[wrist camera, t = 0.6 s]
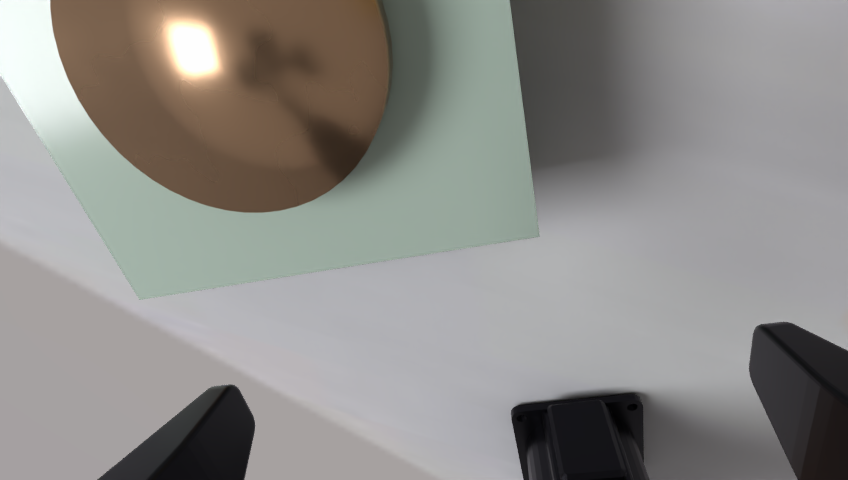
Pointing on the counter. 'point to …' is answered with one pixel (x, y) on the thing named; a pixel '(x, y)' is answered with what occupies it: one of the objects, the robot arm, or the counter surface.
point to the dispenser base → (344, 204)
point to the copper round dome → (232, 91)
